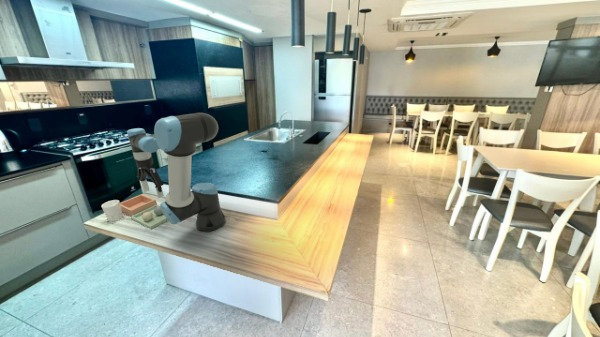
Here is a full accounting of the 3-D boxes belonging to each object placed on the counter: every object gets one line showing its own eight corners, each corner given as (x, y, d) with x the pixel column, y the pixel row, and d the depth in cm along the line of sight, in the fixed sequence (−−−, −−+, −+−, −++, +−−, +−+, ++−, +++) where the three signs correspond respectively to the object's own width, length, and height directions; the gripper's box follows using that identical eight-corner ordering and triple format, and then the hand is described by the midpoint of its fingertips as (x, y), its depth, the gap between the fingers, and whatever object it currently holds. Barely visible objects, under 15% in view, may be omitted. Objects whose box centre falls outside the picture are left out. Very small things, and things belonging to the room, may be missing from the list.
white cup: (110, 224, 126) (103, 208, 122) (105, 219, 130) (99, 204, 126) (126, 217, 132) (121, 202, 128) (121, 213, 136) (116, 198, 132)
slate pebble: (166, 213, 134) (164, 206, 132) (158, 217, 130) (155, 210, 128) (161, 211, 137) (159, 204, 135) (153, 215, 133) (150, 208, 131)
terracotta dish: (157, 206, 142) (155, 199, 140) (133, 218, 131) (130, 210, 129) (144, 201, 149) (142, 194, 147) (120, 211, 138) (117, 204, 136)
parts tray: (177, 216, 132) (176, 213, 132) (151, 230, 121) (150, 226, 120) (157, 207, 141) (156, 204, 141) (131, 219, 130) (130, 216, 129)
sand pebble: (155, 219, 129) (153, 211, 127) (146, 223, 125) (144, 216, 123) (150, 216, 131) (148, 209, 130) (141, 221, 127) (139, 213, 126)
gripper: (164, 159, 118) (173, 196, 126) (138, 152, 129) (147, 186, 137) (149, 164, 112) (160, 202, 120) (123, 156, 123) (134, 191, 131)
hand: (153, 193), depth 128 cm, fingers open, 13 cm apart
